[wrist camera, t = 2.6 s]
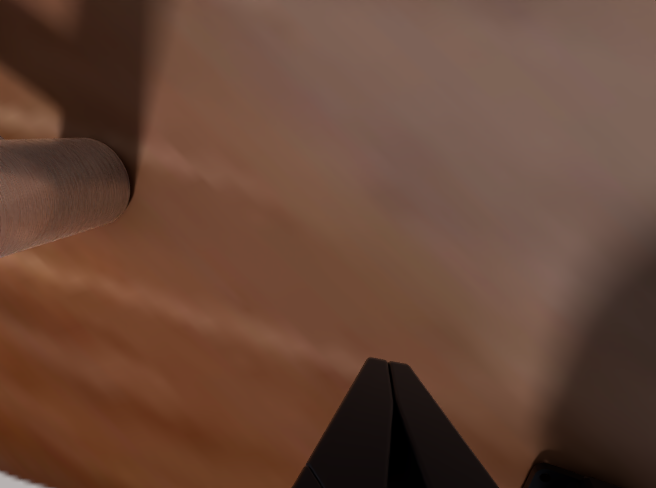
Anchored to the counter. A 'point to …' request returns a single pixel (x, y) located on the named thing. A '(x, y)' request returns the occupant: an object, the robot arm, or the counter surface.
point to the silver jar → (57, 190)
